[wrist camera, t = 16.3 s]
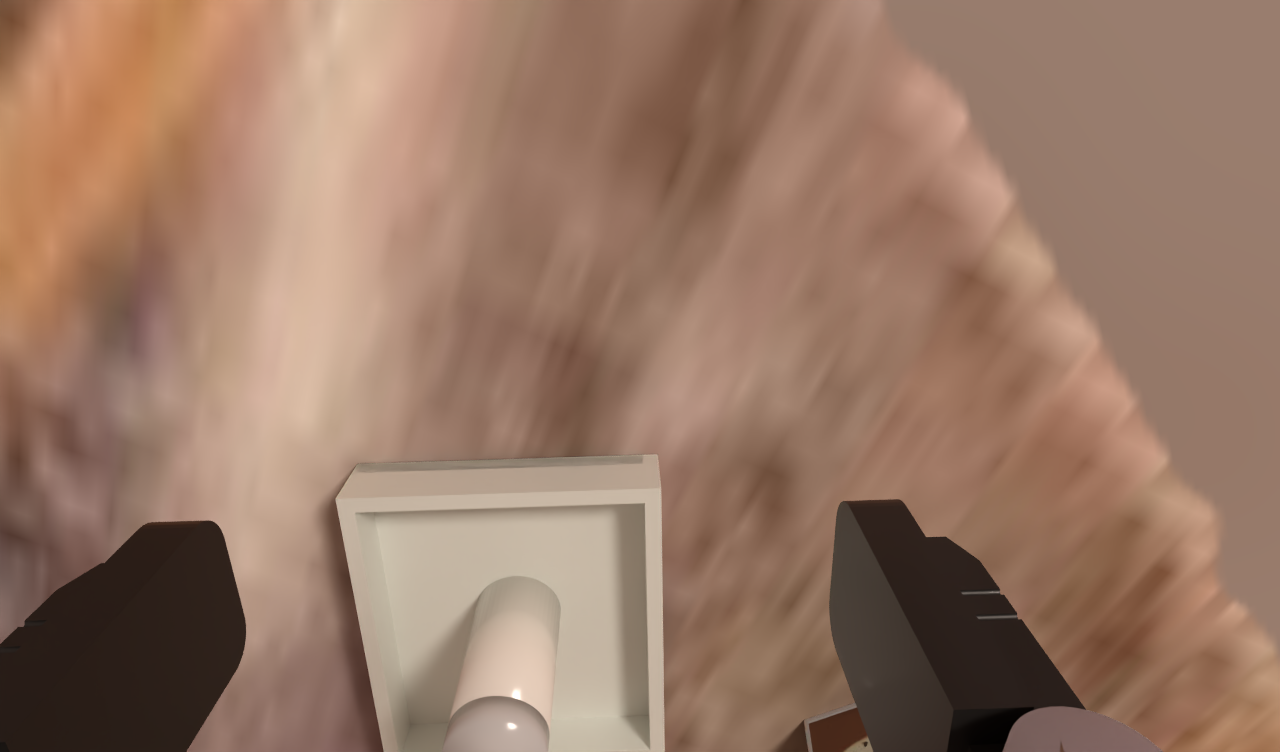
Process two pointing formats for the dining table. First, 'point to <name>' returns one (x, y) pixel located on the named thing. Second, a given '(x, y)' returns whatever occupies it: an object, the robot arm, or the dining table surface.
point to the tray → (503, 547)
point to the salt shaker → (508, 671)
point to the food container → (837, 731)
